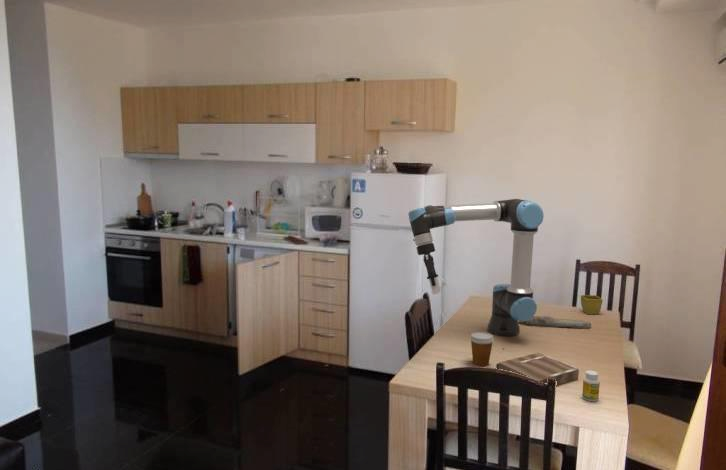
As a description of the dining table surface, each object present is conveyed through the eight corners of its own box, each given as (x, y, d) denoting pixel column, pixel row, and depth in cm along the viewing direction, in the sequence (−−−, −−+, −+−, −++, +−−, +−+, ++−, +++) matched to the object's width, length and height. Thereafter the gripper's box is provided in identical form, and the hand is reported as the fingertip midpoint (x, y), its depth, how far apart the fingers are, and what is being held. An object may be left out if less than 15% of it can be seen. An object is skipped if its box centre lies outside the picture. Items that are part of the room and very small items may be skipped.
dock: (535, 361, 226) (536, 351, 225) (578, 379, 207) (579, 368, 207) (496, 371, 215) (496, 360, 214) (537, 391, 197) (538, 380, 196)
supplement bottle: (590, 394, 195) (592, 368, 193) (601, 400, 190) (604, 374, 188) (578, 396, 193) (580, 370, 192) (589, 402, 188) (591, 376, 187)
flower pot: (601, 315, 291) (603, 299, 289) (585, 315, 291) (586, 299, 289) (595, 311, 299) (596, 295, 298) (579, 310, 299) (580, 295, 298)
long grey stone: (593, 333, 266) (588, 328, 276) (594, 323, 266) (589, 318, 275) (519, 325, 272) (517, 320, 281) (520, 315, 271) (518, 310, 281)
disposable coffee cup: (488, 370, 216) (489, 341, 214) (465, 364, 221) (466, 336, 219) (495, 362, 224) (497, 334, 222) (473, 357, 229) (475, 330, 227)
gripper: (418, 247, 244) (430, 293, 242) (413, 245, 220) (426, 296, 218) (434, 243, 243) (446, 289, 241) (431, 240, 219) (444, 292, 217)
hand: (437, 293), depth 229 cm, fingers open, 13 cm apart
